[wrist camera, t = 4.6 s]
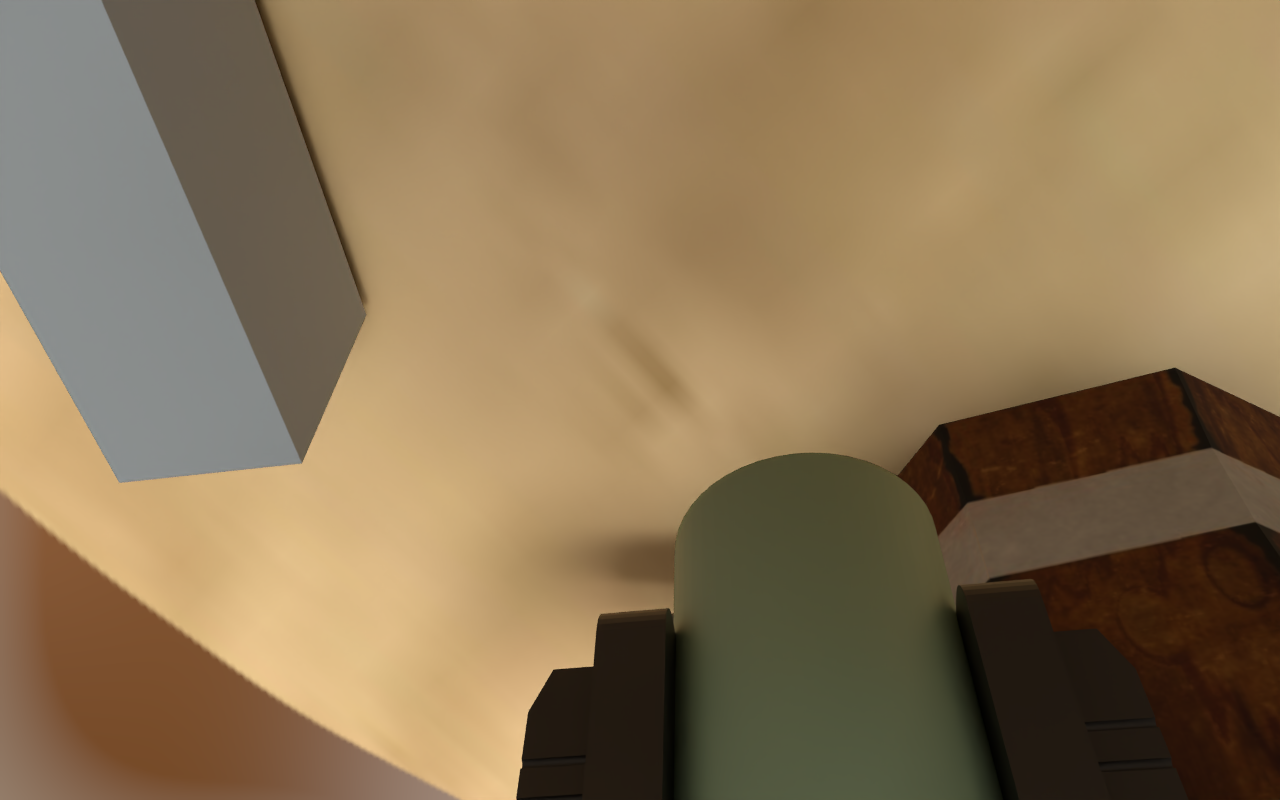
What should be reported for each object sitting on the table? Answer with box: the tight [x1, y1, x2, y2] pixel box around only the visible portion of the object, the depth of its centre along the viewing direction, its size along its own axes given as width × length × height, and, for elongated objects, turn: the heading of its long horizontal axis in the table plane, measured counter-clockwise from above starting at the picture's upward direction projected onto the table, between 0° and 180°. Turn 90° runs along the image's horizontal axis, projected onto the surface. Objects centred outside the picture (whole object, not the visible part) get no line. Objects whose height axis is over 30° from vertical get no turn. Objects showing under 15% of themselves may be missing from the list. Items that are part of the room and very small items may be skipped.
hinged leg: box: [0, 0, 366, 483], centre depth 18 cm, size 13×4×6 cm, turn 9°
